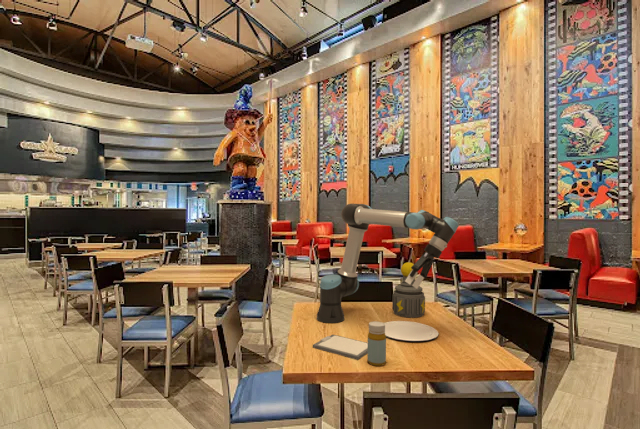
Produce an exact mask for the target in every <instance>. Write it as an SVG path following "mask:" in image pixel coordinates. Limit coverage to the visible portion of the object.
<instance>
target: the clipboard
mask: <svg viewBox="0 0 640 429" xmlns="http://www.w3.org/2000/svg"><path fill="white" fill-rule="evenodd" d="M312 348H313V349H316V350H320V351H323V352H326V353H331V354H335V355H339V356H342V357H346V358H350V359H353V360H357V361H359V360H360V359H361V358H363V357H364V356H366V355H367V351H368V341H362V340H357V339H353V338H349V337H346V336H341V335H337V334H331V335H327V336H325V337H323V338H321V339H320V340H319V341H317V342H315V343H313V344H312Z"/></svg>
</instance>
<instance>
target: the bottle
mask: <svg viewBox="0 0 640 429" xmlns="http://www.w3.org/2000/svg"><path fill="white" fill-rule="evenodd" d="M384 323H385V322H382V321H369V323H368V333H367V343H368V351H367V354H366V355H367V356H366V357H367V359H366V360H367V362H368V364H369V365H371V366H375V367H382V366H385V364H386V362H387V336H386V335H385V324H384Z"/></svg>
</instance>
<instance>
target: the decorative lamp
mask: <svg viewBox="0 0 640 429" xmlns="http://www.w3.org/2000/svg"><path fill="white" fill-rule="evenodd" d="M414 264H415V263H413V262H405V263H403V264H402V265H401V268H400V273H401V275H402V279H401V282H400V284H398V285H395V287H394V290H393V293H392V302H391V303H392V308H391V309H392V312H393V314H394V315H395V316H397V317H400V318H401V317H402V318H409V319H417V318H421V317H422V318H423V317H424V315H425V313H426V296H425V292H424V291H423V287H421V286H420V285H419V287H418V288H417V289H416V288H415V287H413V286H412V285H413V283H414V282H415V280H416V277H415V278H414V280H413V281H412V283H411V284H408V283H407V282H405V280H406V279H407V277H408V276H409V274H410V272H411V271H412V268H411V267H412V266H413V265H414Z"/></svg>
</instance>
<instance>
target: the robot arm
mask: <svg viewBox="0 0 640 429" xmlns="http://www.w3.org/2000/svg"><path fill="white" fill-rule="evenodd" d="M340 214H341V215H340V217H341V219H342V221H343V222H344V223H345V224H346V225H347V227H348V228H349V230H348V235H347V239H346V244H345V248H344V249H345V250H344V252H343V253H344V254H343V256H342V257H343V258H342V262H341V267H340V268H339V269H338V270H337V272H336V273H337V274H328V275H327V274H326V275H324V276H322V277H321V278H320V281H319V282H320V283H319V307H318V311H317V314H316V320H317V321H319V322H321V323H324V324H326V323H327V324H337V323H342V322H344V320H345V313H344V310H343V307H342V306H343V305H342V298H344V297H347V296H351V295H353V294H354V293H356V292H357V291H358V289H359V286H360V282H359V279H358V273H357V272H356V271H357V267H358V262H359V258H360V253H361V249H362V244H363V240H364V236H365V232H367V231H368V229H369V226H370V225H377V226H385V227H386V226H387V227H388V226H389V227H395V228H396V227H397V228H403V229H404V228H406V229H411V230H424V229H425V230H428V231H430V232H431V233H434V234H433V235H432V236H431V238H430V240H429V241H428V244H427V245H426V246H425V248H424V252H423V253H422V254H421V256H420V257H419V258H418V259H417V260H416V261H415V263H413V264H414V265H413V266H412V267H411V268H412V271H411V272H410V274H409V276H408V277H407V279H406V280H405V282H407V283H408V284H411V283H412V281H413V280H414V278H415V282H414V283H413V285H412V286H413V287H415V288H416V289H417V288H418V287H419V286H420V285H421V284H422V282H423V281H424V279H427V278H428V275H429V272H430V270H431V268H432V266H433V264H434V262H435V261H436V260H435V259H439V258H440V257H441V255H442V254H443V253H442V252H443V251H444V250H445V249H446V248H447V247H448V244H449V242H450V241H451V239H452V238H453V237H454V235H455V233H456V232H457V230H458V228H459V225H460V224H459V222H458V221H456V220H455V219H453V218H452V217H450V216H445V217H444V218H443V219H442V218H440V217H438V216H436V215H434V214H432V213H431V212H429V211H426V210H424V209H421V210H418V211H417V212H410V211H399V210H387V209H375V208H372V207H371V206H369V205H368V204H364V203H348V204H345V205H344V206H343V208H342V210H341V212H340ZM434 258H435V259H434ZM420 270H421V271H420ZM419 271H420V273H419ZM418 273H419V274H418Z"/></svg>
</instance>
